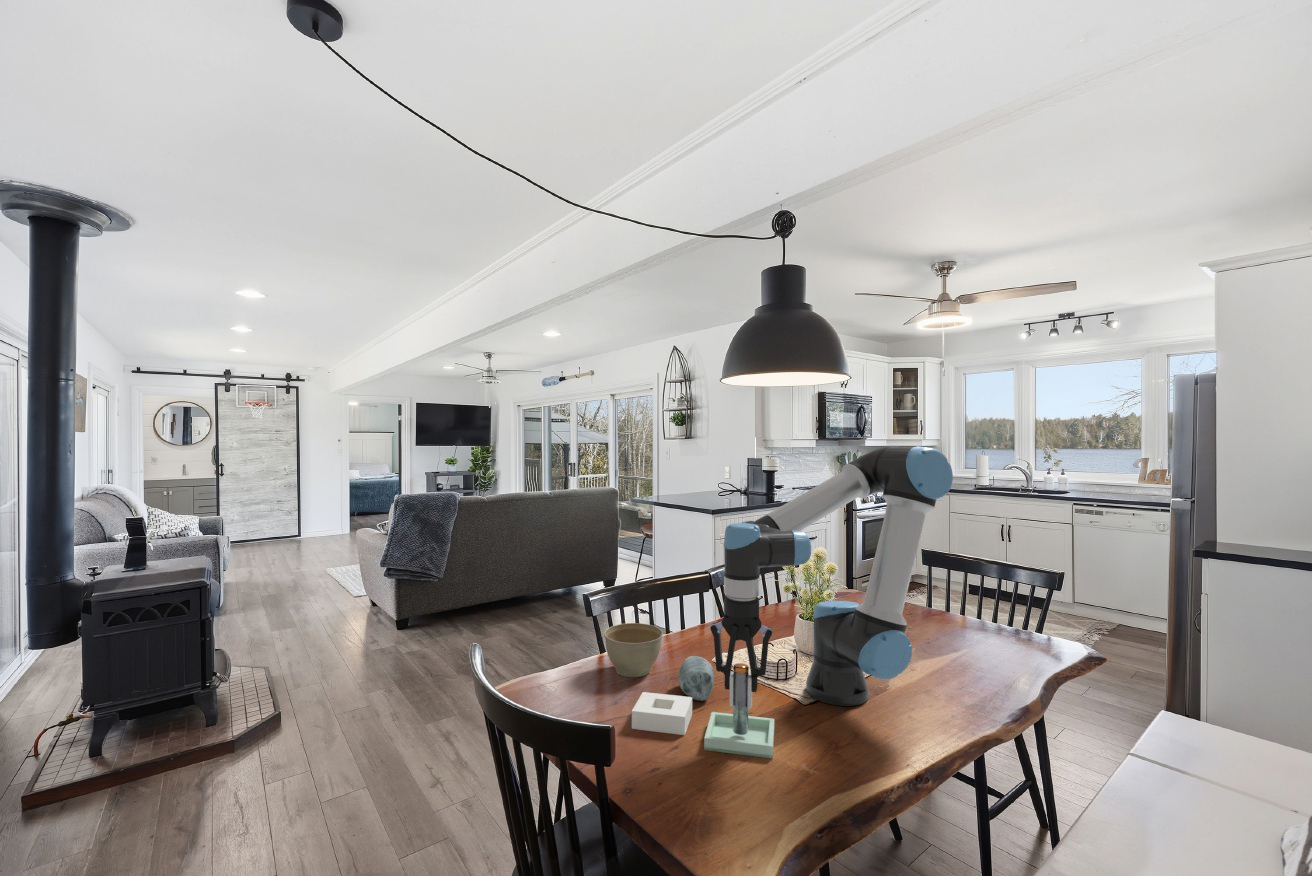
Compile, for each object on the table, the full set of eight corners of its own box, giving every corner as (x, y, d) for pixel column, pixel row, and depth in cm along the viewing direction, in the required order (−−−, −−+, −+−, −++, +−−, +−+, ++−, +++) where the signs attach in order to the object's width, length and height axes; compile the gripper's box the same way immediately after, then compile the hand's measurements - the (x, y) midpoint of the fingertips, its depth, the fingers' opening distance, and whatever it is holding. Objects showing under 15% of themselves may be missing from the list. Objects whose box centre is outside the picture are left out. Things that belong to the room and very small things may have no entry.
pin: (748, 728, 129) (749, 664, 129) (747, 735, 126) (748, 669, 125) (733, 726, 129) (734, 662, 129) (732, 733, 126) (732, 668, 126)
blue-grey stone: (722, 693, 143) (703, 653, 146) (686, 710, 143) (668, 670, 146) (722, 683, 156) (705, 647, 159) (690, 700, 156) (673, 663, 159)
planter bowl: (593, 677, 159) (593, 637, 159) (619, 657, 174) (619, 620, 174) (648, 687, 153) (649, 645, 153) (670, 665, 168) (671, 627, 168)
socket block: (692, 714, 139) (692, 697, 139) (684, 735, 129) (684, 717, 129) (642, 708, 142) (642, 691, 142) (631, 728, 132) (631, 710, 132)
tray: (774, 730, 132) (774, 718, 132) (772, 758, 120) (772, 746, 120) (711, 722, 135) (711, 711, 135) (704, 750, 123) (704, 738, 123)
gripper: (780, 594, 129) (779, 701, 129) (706, 589, 133) (705, 693, 133) (779, 603, 122) (778, 717, 122) (701, 598, 125) (700, 708, 126)
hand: (740, 704), depth 127 cm, fingers closed on pin, 3 cm apart
